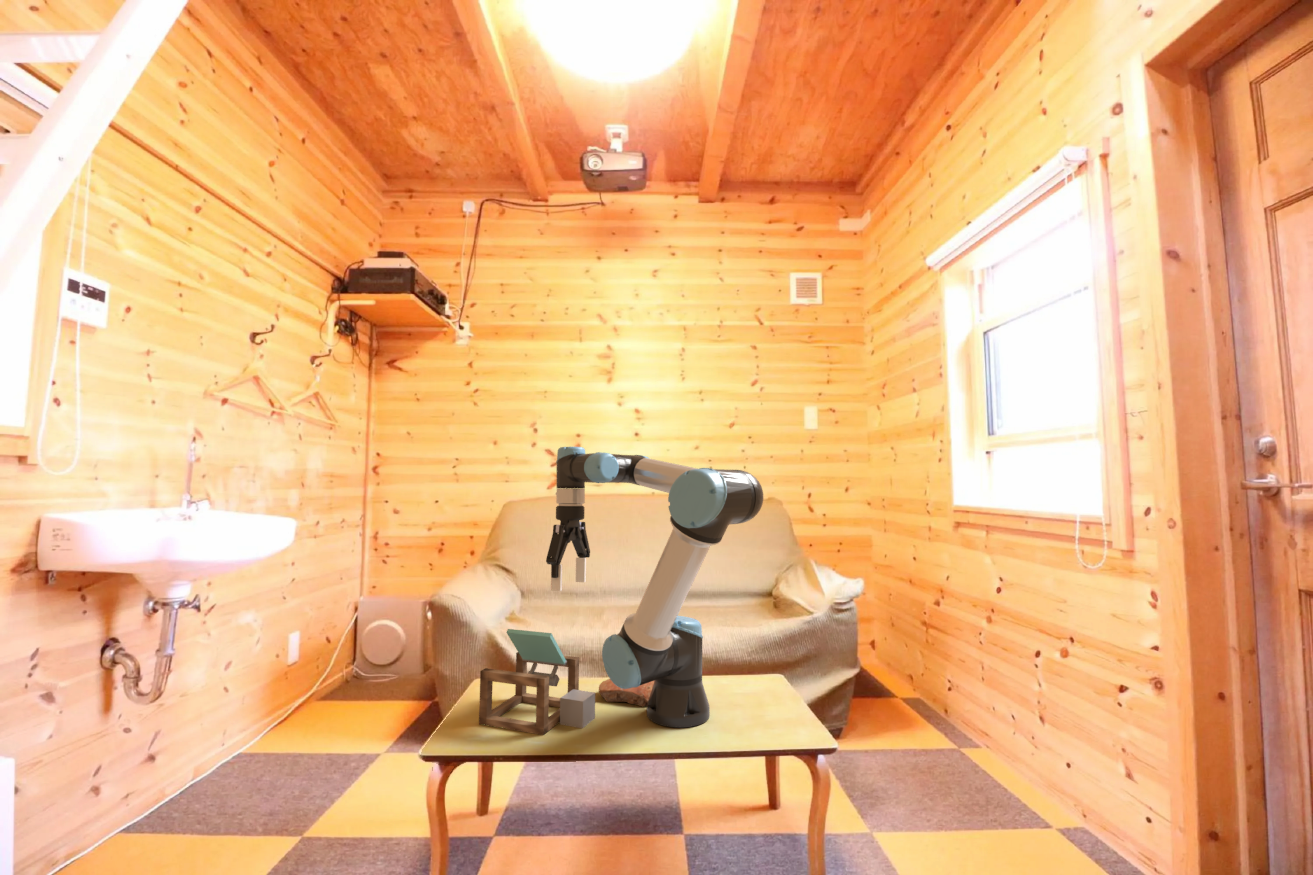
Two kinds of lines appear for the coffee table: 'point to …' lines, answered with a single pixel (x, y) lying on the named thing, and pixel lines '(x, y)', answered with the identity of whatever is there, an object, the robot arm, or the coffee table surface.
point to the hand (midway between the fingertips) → (569, 586)
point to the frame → (523, 696)
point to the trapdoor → (538, 651)
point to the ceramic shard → (626, 693)
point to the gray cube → (577, 708)
